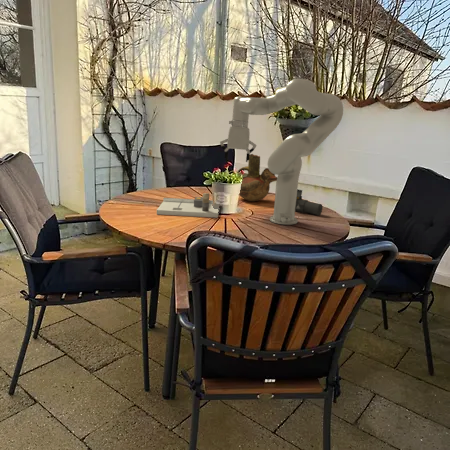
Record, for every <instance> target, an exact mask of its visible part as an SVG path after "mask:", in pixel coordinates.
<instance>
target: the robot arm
mask: <svg viewBox="0 0 450 450" xmlns="http://www.w3.org/2000/svg"><path fill="white" fill-rule="evenodd" d="M296 105H297V106H298V107H300V108H302V109H303V110H305V111H306V112H308V113H309V114H312V115H313V116H319V117H318V118H317V119H315V120H313V121H312V122H311V124H310V125H309V126H308V127H307V128H306V129H305V130H303V132H302V133H293V134H290V135H289V136H287V137H286V138H285V139H284V140H283V141H282V142H281V143H280V144H279V145H278V147H276V148H275V149H274V151H273V152H272V153H271V154H270V156H269V157H268V158H267V159H268V160H267V168H268V169H269V171H270V172H271V173H273V174H275V176H276V177H277V181H275V182H276V183H275V195H274V196H275V197H274V205H273V215H272V216H270V217H269V221H270V222H271V223H273V224H274V223H275V224H279V225H283V226H284V225H286V226H292V225H296V224H297V223H298V221H299V220H298V218H297V217H295V216H296V215H295V214H296V211H295V207H296V197H297V189H298V188H299V178H300V173H301V169H302V166H303V159H302V157H303V158H304V157H308V156H310V155H312V154H313V152H315V150H316V149H317V148H319V146H321V144H322V143H323V142H324V141H326V139H327V138H328V137H329V136H330V135H331V134H332V133H333V132H334V131H335V130H336V128H337V127H339V125H340V123H341V121H342V118H343V115H344V106H343V102H342V100H341V99H340V97H338V96H337V95H335V94H333V93H328V92H326V93H325V92H320V91H318V90H317V86H316V84H315V83H314V82H313V81H311V80H309V79H305V78H294V79H292V80H290V81H289V82H288V83H287V85H284V86H282V87H281V86H280V87H278V88H277V89H276V91H275V93H274V94H273V95H271V96H267V97H246V96H236V97H234V99H233V107H232V120H229V121H228V124H229V125H231V126H230V127H229V130H228V134H227V135H228V136H227V138H226V139H223V140H221V141H220V142H219V143H220V146H221V148H222V150H224V152H225V153H224V158H225V161H228V160H229V150H230V149H232V150H233V149H234V150H242V151H243V150H244V151H246V157H245V158H246V159H245V162H246V163H248V160H249V156H250V154H252V152H253V151H255V149H256V147H257V144H256V143H255V142H253V141H251V140H250V136H251V135H250V128H249V117H250V115H251V116H264V115H265V116H266V115H269V114H273V113H276V112H279V111H281V110H283V109H285V108H288V107H289V108H290V107H292V106H296ZM225 143H226V144H227V145H226V146H227V147H226V146H225V145H224V144H225ZM250 145H251V146H252V147H251V148H249V147H250Z"/></svg>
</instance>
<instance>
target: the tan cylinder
mask: <svg viewBox="0 0 450 450" xmlns="http://www.w3.org/2000/svg"><path fill="white" fill-rule="evenodd" d="M202 197H203V202H202V211H209V200H210V193H209V192H204V193H202Z"/></svg>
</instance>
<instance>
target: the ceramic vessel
mask: <svg viewBox="0 0 450 450" xmlns="http://www.w3.org/2000/svg"><path fill="white" fill-rule="evenodd" d="M247 163H248V165H247V166H243V167H241V168H239V169H238V170H237V172H240V171H241V170H243V172H244V171H247V175H245V176H242V177H243V181H242V184H241V190H240V195H239V196H240V197H241V198H242V199H244V200H246V201H247V202H257V201H258V202H259V201H260V200H263V199H265V198H266V197H267V195H268V194H269V192H270V188H271V187H270V184H271V183H273V182H277V177H278V176H277V175H276V174H273V173H271V172H270V171H269V169H268V167H267V168H264V169H263V170H262V172H261V171H260V170H261V169H260V168H261V156H260V155H257V154H253V153H250V156H249V160H248V161H247ZM260 172H261V174H260Z"/></svg>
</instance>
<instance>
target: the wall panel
mask: <svg viewBox="0 0 450 450" xmlns="http://www.w3.org/2000/svg"><path fill="white" fill-rule="evenodd" d="M194 199H195V198H194ZM194 199H193V198H179V197H178V198H176V197H175V198H174V197H163V201H162V202H161V204H160V205H159V206H158V208H156V215H161V216H163V215H164V216H165V215H166V216H182V217H197V218H198V217H199V218H200V217H201V218H218V217H219V213H218V212H220V209H219V210H218V209H214V208H213V206H212V204H213V199H209V211H202V207H194Z"/></svg>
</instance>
